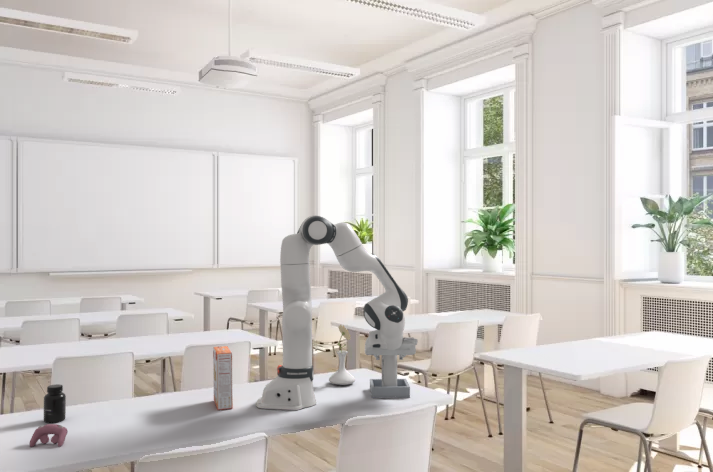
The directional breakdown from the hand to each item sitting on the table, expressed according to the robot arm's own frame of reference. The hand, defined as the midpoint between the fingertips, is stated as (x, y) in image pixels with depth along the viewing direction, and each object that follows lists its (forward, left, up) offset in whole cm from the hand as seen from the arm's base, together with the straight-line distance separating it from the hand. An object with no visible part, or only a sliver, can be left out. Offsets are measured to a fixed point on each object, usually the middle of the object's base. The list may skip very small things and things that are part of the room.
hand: (389, 358), depth 250 cm
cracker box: (-64, -15, -14) cm, 67 cm away
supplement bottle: (-118, -33, -14) cm, 123 cm away
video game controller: (-109, -57, -14) cm, 124 cm away
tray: (0, 0, -14) cm, 14 cm away
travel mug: (0, 0, -14) cm, 14 cm away
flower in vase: (-19, +17, -14) cm, 29 cm away
